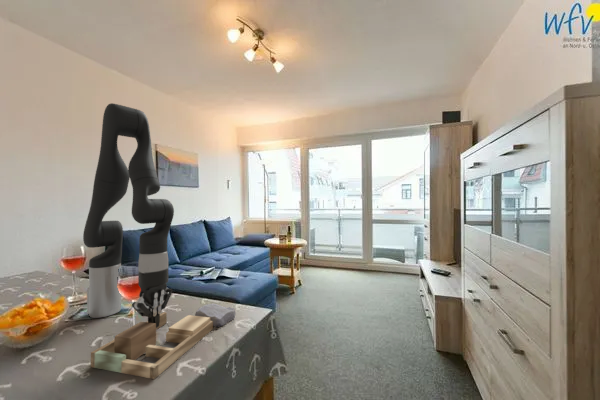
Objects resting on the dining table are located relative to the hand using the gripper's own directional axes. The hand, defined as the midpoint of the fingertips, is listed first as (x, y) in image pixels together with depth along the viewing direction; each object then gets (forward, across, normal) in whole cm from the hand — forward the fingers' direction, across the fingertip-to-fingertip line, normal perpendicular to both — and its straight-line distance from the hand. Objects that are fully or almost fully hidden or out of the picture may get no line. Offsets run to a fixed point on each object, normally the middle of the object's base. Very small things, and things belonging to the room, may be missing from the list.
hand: (153, 327), depth 73 cm
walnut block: (+4, +6, 0) cm, 7 cm away
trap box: (+4, +2, +4) cm, 6 cm away
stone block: (+4, -17, +10) cm, 20 cm away
